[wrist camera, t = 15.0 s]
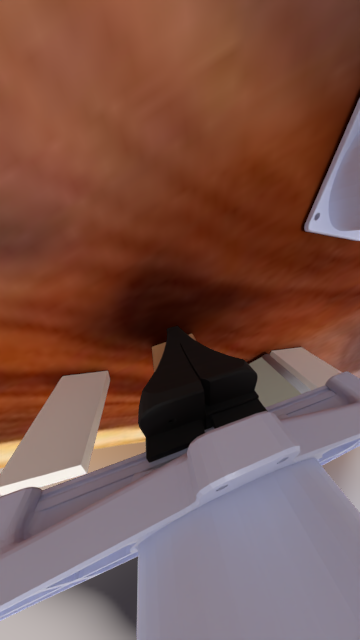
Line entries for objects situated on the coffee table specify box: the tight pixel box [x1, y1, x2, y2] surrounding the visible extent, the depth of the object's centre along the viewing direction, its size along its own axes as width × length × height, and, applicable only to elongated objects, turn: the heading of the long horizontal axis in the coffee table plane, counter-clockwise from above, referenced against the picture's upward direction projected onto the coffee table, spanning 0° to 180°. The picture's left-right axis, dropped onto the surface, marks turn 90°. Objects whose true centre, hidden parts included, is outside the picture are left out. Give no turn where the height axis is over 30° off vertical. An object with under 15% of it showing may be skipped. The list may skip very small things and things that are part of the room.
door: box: [249, 354, 311, 407], centre depth 17 cm, size 2×20×6 cm, turn 117°
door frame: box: [0, 347, 342, 496], centre depth 14 cm, size 2×32×7 cm, turn 85°
